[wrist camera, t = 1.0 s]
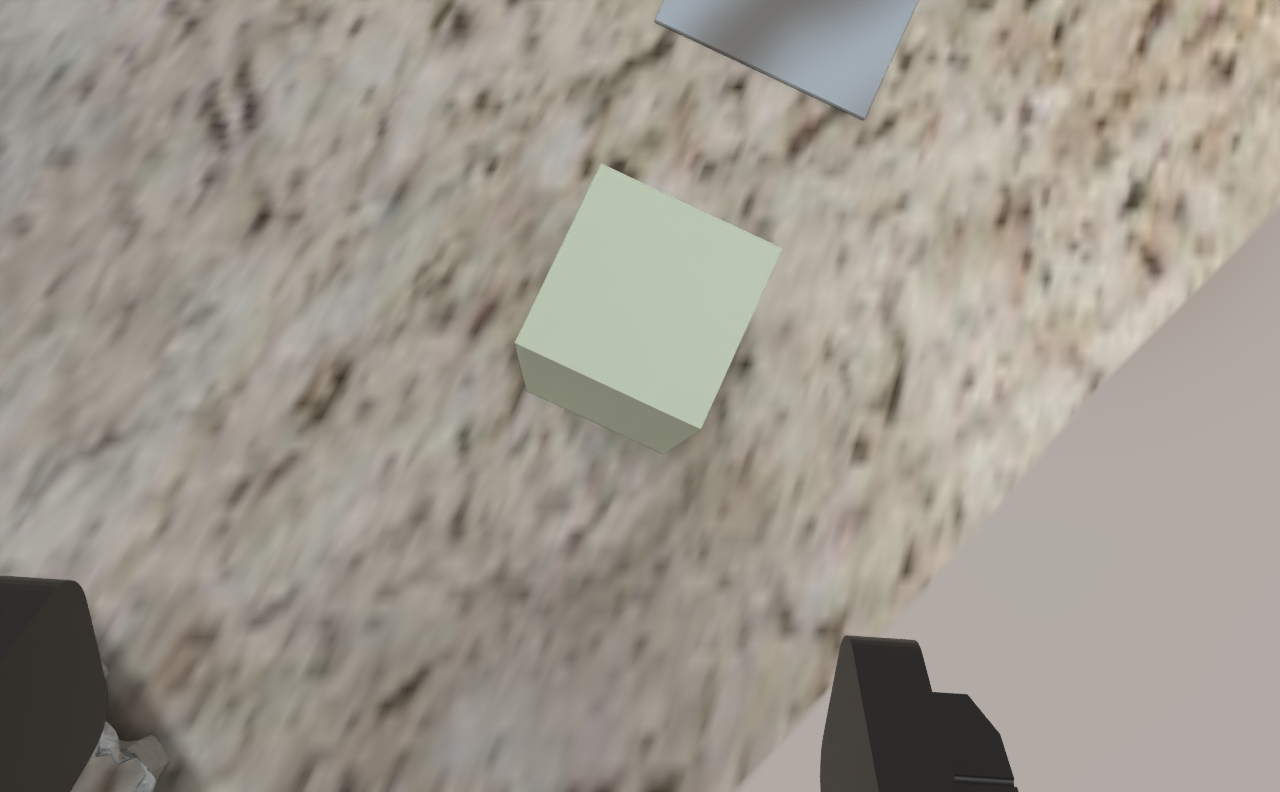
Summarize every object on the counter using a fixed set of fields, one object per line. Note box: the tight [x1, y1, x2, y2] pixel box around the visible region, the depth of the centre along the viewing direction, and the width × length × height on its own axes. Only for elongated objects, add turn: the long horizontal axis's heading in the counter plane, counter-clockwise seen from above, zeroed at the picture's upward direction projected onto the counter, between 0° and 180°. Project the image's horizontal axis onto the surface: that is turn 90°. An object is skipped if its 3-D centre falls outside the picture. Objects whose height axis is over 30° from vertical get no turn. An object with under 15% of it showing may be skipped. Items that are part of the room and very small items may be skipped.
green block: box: [515, 164, 782, 454], centre depth 33 cm, size 5×5×10 cm
